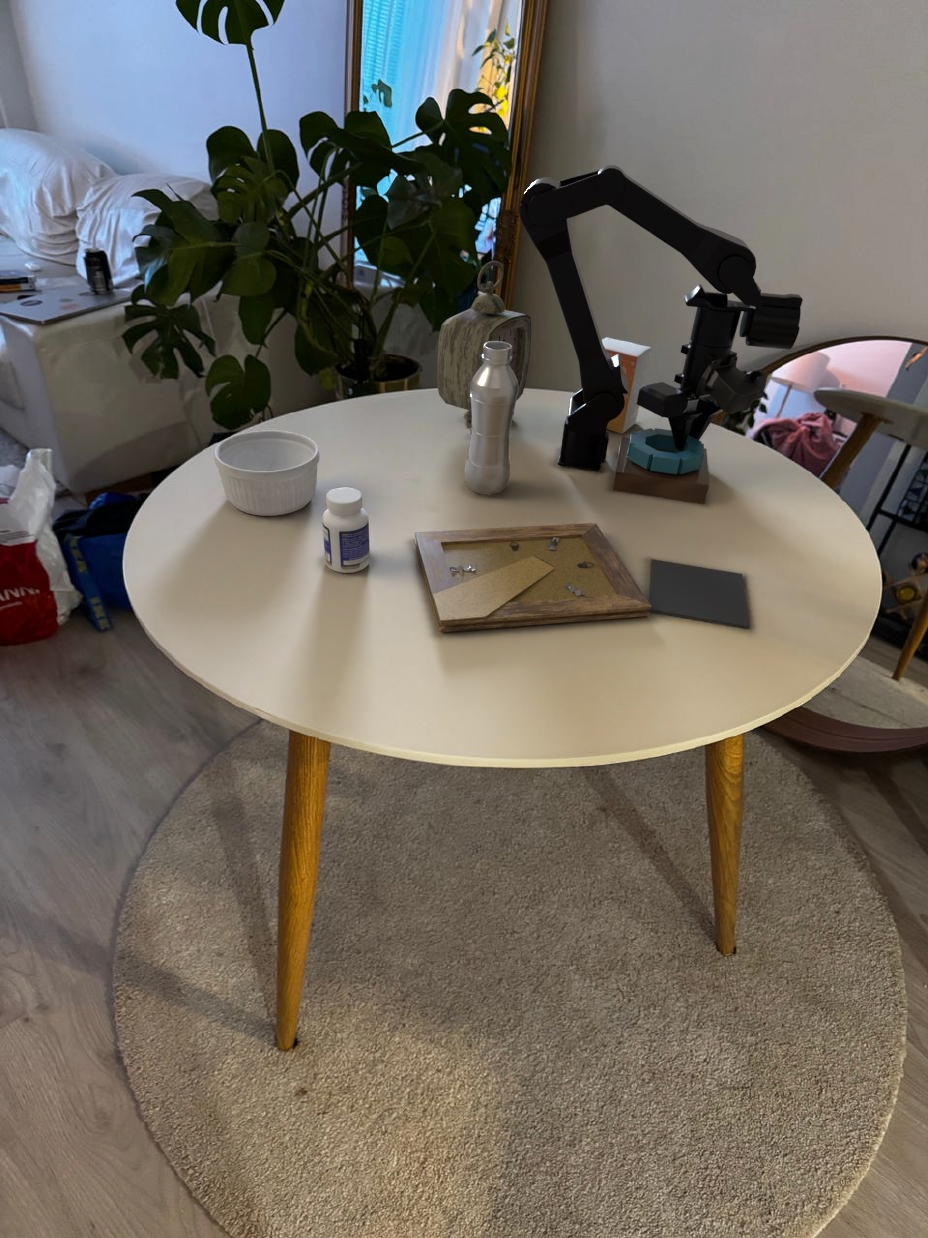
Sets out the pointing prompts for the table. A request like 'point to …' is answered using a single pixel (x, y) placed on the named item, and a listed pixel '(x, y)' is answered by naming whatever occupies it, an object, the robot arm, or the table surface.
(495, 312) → the tabletop clock
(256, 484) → the ramekin
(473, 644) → the table surface
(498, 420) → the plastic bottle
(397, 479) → the table surface
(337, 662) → the table surface
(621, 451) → the platform
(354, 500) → the pill bottle
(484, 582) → the picture frame
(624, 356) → the small box
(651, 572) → the mat
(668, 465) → the ring
